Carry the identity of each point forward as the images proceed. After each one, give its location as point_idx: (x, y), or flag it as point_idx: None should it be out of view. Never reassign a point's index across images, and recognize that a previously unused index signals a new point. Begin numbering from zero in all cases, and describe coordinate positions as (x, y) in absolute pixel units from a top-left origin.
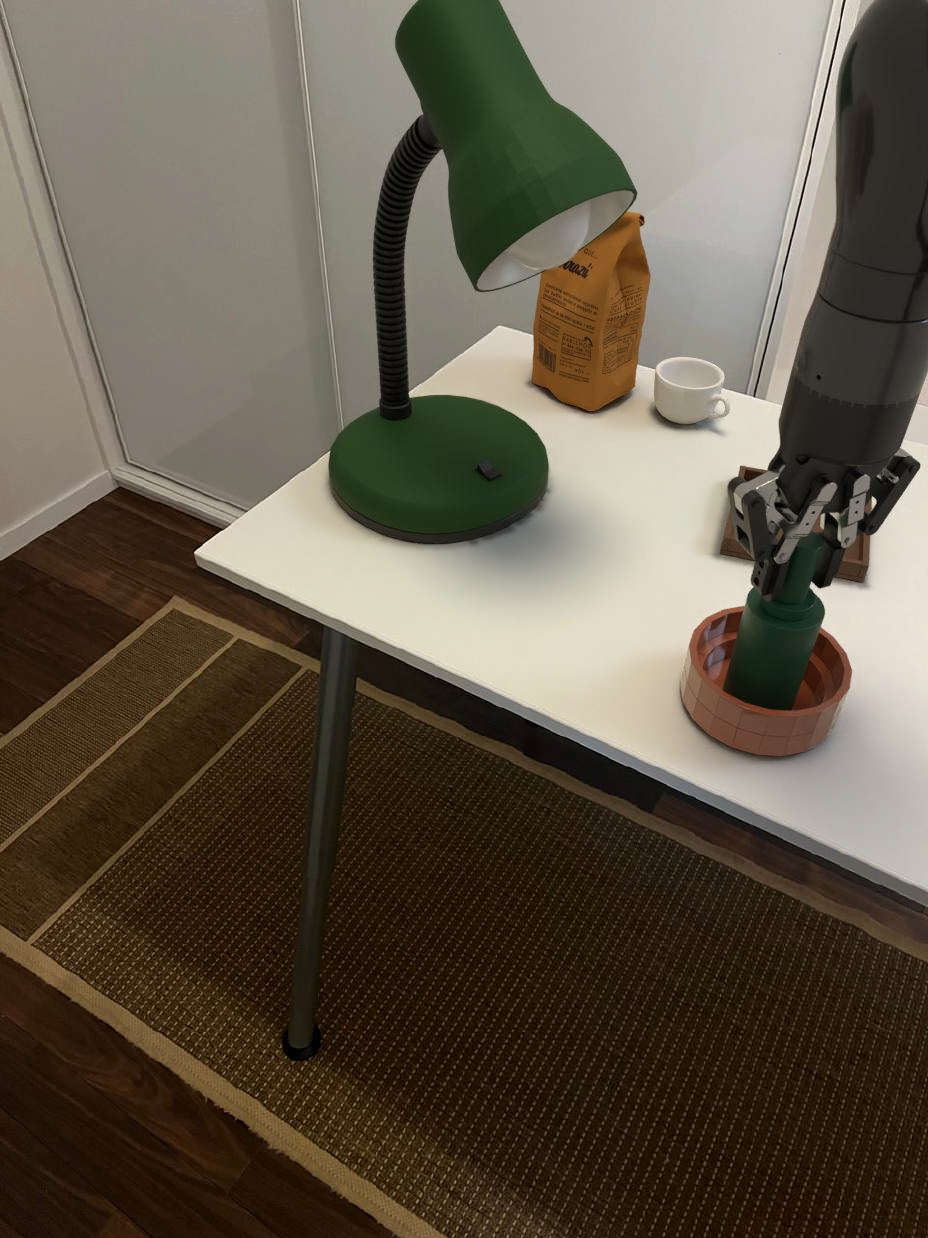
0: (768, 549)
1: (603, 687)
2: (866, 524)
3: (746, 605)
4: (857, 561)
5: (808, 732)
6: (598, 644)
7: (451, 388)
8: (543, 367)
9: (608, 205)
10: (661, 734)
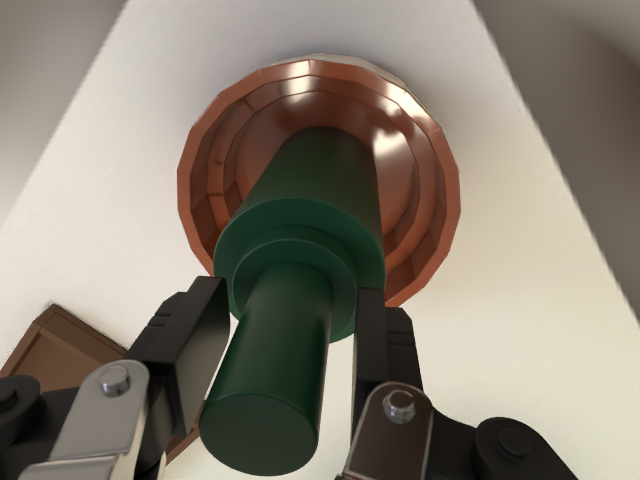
0: (498, 464)
1: (510, 279)
2: (16, 424)
3: None
4: (45, 333)
5: (325, 56)
6: (463, 342)
7: None
8: None
9: None
10: (495, 176)
